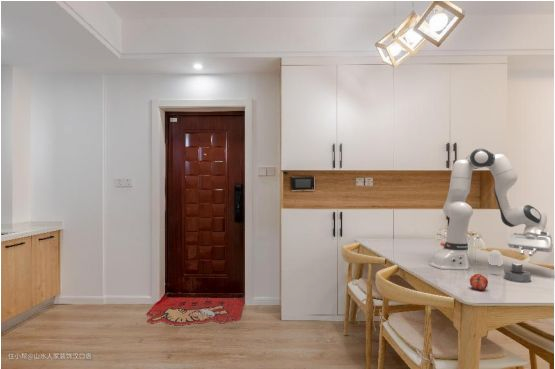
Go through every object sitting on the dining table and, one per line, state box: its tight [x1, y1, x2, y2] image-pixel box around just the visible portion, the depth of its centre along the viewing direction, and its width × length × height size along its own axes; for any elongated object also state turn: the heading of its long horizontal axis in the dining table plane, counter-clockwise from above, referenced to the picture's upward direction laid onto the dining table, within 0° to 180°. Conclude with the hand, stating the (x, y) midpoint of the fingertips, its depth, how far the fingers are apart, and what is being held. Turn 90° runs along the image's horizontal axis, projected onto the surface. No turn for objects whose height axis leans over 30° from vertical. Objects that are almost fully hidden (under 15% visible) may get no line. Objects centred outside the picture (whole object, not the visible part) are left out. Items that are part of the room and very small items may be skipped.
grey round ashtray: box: [503, 268, 532, 284], centre depth 188 cm, size 11×11×4 cm
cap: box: [511, 262, 523, 273], centre depth 188 cm, size 4×4×8 cm
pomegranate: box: [469, 273, 489, 291], centre depth 170 cm, size 7×7×10 cm
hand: (526, 254), depth 195 cm, fingers open, 3 cm apart
